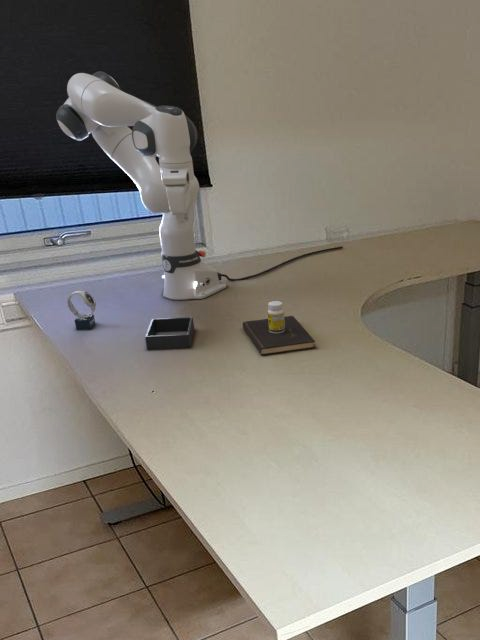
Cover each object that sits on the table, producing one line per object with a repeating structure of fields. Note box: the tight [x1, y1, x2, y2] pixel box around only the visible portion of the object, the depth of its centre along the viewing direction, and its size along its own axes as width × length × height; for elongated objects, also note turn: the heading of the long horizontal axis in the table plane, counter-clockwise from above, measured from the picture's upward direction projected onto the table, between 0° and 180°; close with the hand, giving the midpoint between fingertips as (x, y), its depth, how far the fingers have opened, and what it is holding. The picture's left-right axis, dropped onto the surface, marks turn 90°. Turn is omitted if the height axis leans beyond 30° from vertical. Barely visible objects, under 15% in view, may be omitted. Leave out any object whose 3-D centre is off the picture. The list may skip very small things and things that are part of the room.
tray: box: [144, 316, 195, 351], centre depth 220 cm, size 15×12×4 cm
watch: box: [66, 290, 97, 331], centre depth 228 cm, size 6×8×11 cm
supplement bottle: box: [267, 300, 285, 334], centre depth 217 cm, size 5×5×8 cm
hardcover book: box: [242, 315, 316, 357], centre depth 220 cm, size 16×23×2 cm
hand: (183, 224), depth 211 cm, fingers open, 8 cm apart
